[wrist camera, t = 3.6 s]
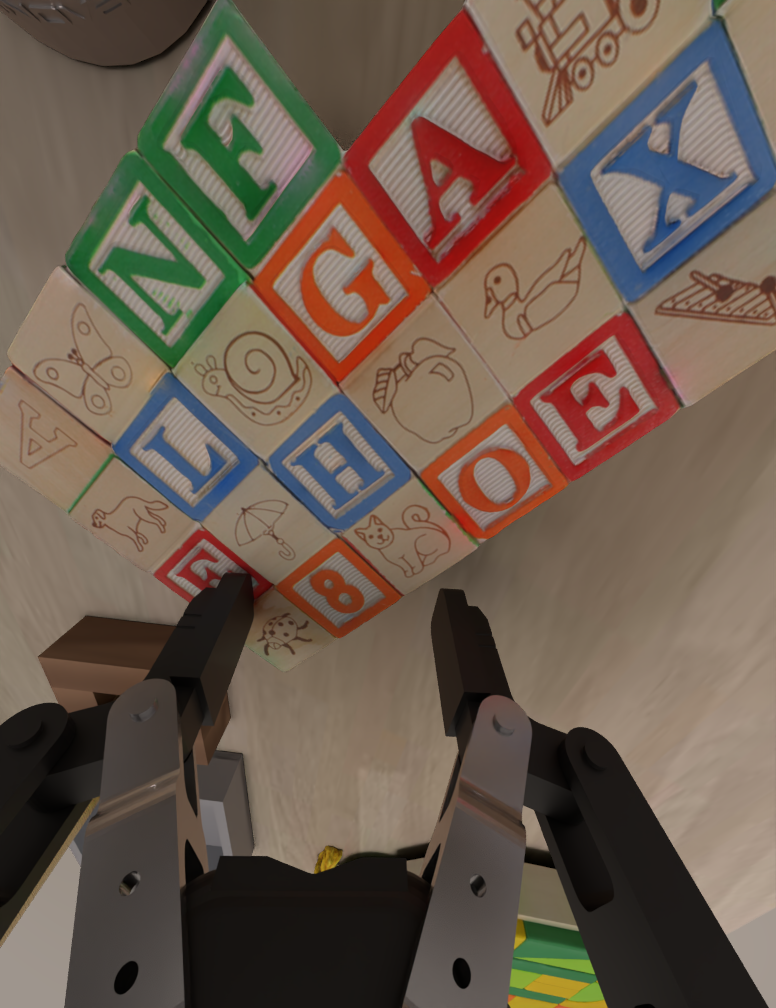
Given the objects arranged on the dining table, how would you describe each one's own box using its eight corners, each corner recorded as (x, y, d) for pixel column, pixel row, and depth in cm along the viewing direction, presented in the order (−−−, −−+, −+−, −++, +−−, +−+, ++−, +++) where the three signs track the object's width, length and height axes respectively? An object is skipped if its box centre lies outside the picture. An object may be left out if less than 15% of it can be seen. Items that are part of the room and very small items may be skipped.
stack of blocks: (743, 263, 12) (557, -181, 9) (1030, 198, 7) (829, -1143, 3) (318, 578, 19) (119, 401, 16) (279, 680, 13) (-47, 436, 10)
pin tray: (68, 733, 26) (29, 778, 23) (242, 753, 26) (222, 802, 23) (112, 829, 32) (85, 874, 29) (254, 846, 32) (239, 893, 29)
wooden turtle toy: (337, 790, 28) (321, 888, 23) (664, 856, 30) (717, 962, 25) (301, 900, 37) (284, 988, 32) (553, 947, 39) (574, 1037, 34)
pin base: (85, 616, 21) (37, 656, 18) (218, 631, 21) (189, 674, 18) (116, 704, 24) (79, 750, 22) (230, 718, 24) (208, 765, 22)
